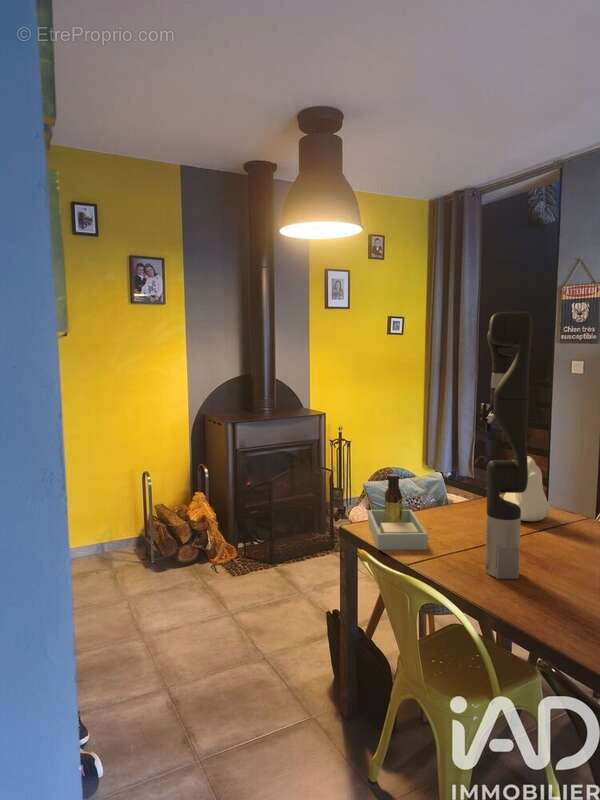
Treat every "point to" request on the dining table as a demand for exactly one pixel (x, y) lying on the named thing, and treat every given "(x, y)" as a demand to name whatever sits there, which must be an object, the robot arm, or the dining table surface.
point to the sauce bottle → (393, 500)
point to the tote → (397, 539)
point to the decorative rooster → (531, 496)
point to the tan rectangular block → (398, 528)
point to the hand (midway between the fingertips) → (501, 433)
